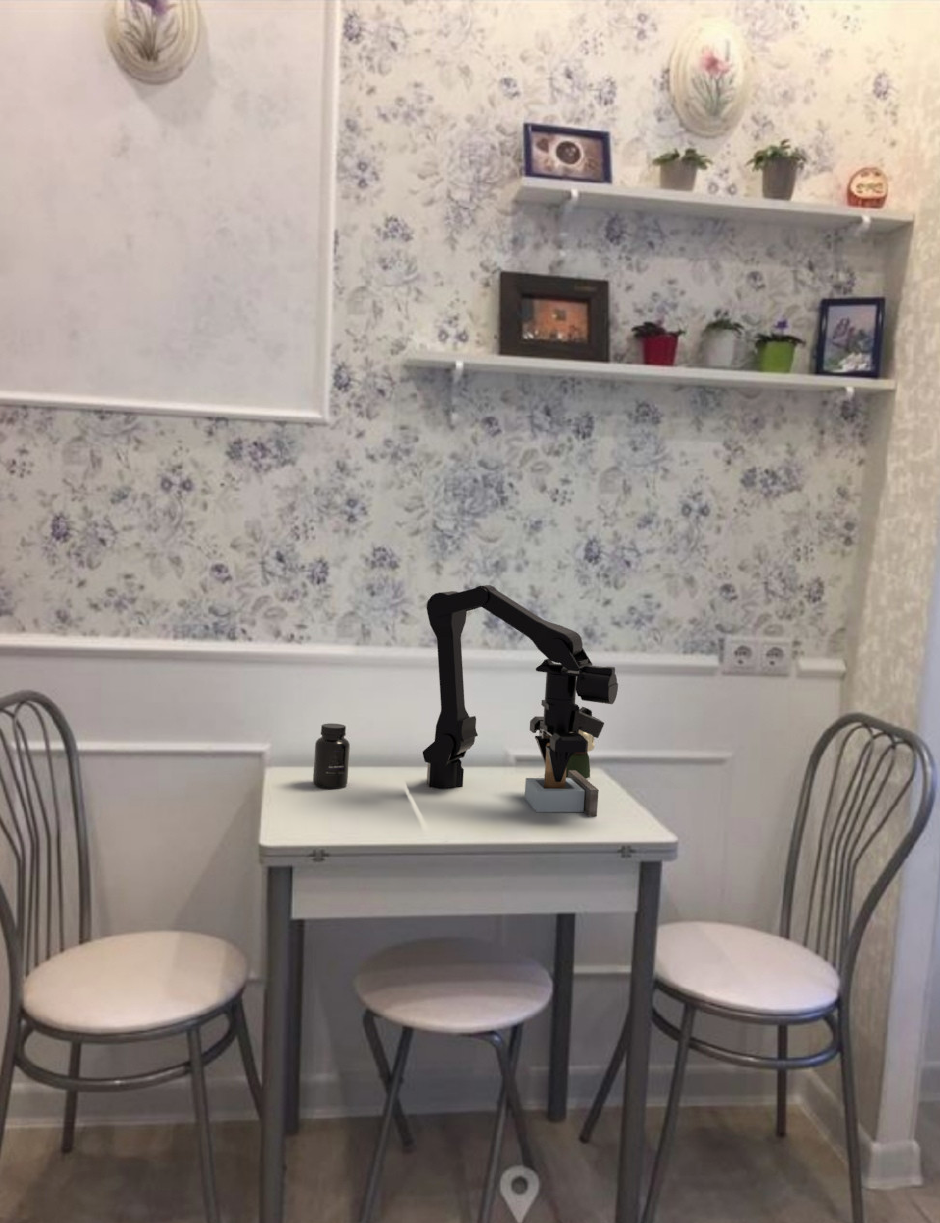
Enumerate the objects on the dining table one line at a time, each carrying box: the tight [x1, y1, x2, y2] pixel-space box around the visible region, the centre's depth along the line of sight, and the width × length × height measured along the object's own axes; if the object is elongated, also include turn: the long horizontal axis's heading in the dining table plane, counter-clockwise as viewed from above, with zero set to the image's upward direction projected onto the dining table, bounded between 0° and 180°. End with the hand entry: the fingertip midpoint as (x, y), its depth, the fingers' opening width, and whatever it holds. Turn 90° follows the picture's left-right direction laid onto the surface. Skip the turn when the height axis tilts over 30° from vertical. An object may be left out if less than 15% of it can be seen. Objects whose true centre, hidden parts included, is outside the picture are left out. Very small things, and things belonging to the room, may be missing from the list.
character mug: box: [566, 730, 595, 780], centre depth 218 cm, size 11×7×13 cm, turn 13°
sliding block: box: [524, 777, 585, 813], centre depth 195 cm, size 9×9×4 cm
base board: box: [568, 770, 599, 817], centre depth 194 cm, size 18×14×6 cm
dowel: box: [544, 743, 567, 789], centre depth 194 cm, size 4×4×10 cm
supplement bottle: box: [312, 722, 351, 790], centre depth 204 cm, size 7×7×12 cm
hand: (554, 778), depth 194 cm, fingers closed on dowel, 4 cm apart
